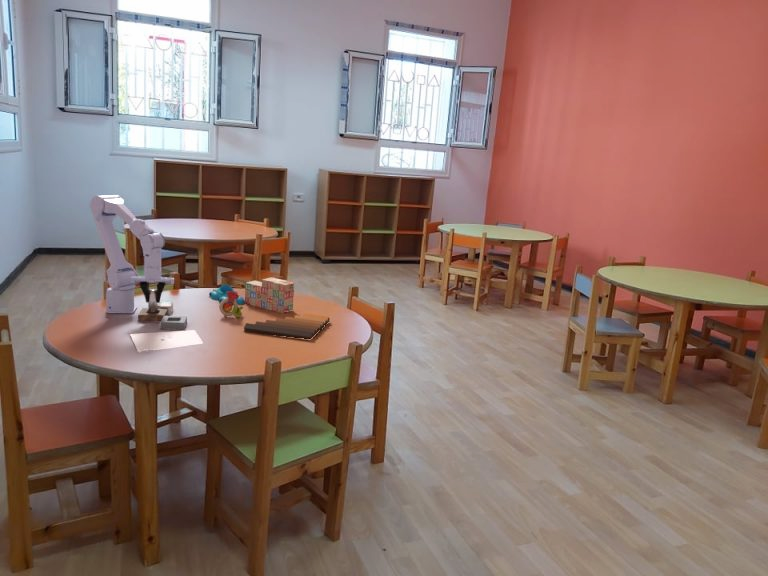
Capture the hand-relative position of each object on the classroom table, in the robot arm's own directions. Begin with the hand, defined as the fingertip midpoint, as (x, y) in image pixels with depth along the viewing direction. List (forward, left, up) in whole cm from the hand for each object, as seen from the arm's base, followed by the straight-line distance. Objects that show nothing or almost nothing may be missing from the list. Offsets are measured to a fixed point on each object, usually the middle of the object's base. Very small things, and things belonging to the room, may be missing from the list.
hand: (153, 302), depth 211 cm
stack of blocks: (+43, +20, -7) cm, 47 cm away
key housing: (+3, +8, -6) cm, 11 cm away
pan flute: (+49, -8, -7) cm, 51 cm away
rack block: (+9, -9, -6) cm, 14 cm away
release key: (+3, +9, -6) cm, 11 cm away
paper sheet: (+10, -31, -7) cm, 33 cm away
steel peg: (0, 0, -3) cm, 3 cm away
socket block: (0, 0, -6) cm, 6 cm away
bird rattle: (+28, +4, -7) cm, 29 cm away
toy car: (+25, +29, -7) cm, 39 cm away
